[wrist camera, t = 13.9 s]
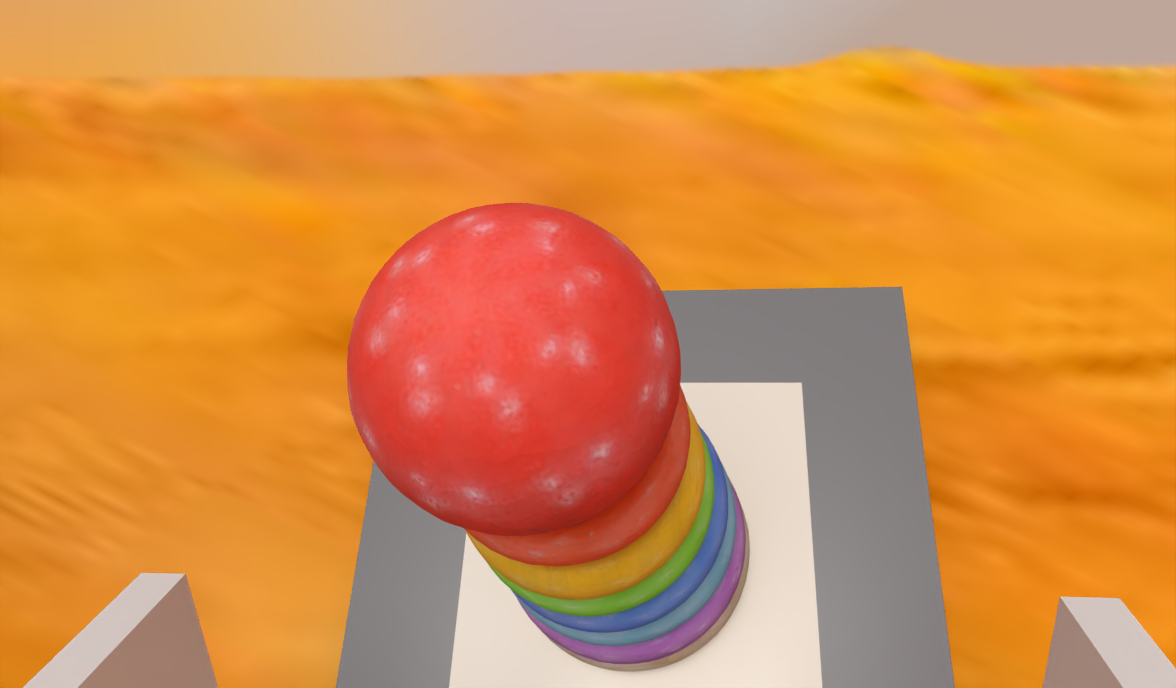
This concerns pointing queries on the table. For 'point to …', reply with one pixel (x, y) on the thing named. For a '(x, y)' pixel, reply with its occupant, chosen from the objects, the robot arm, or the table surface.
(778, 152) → the table surface
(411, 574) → the plate
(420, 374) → the stacking toy
